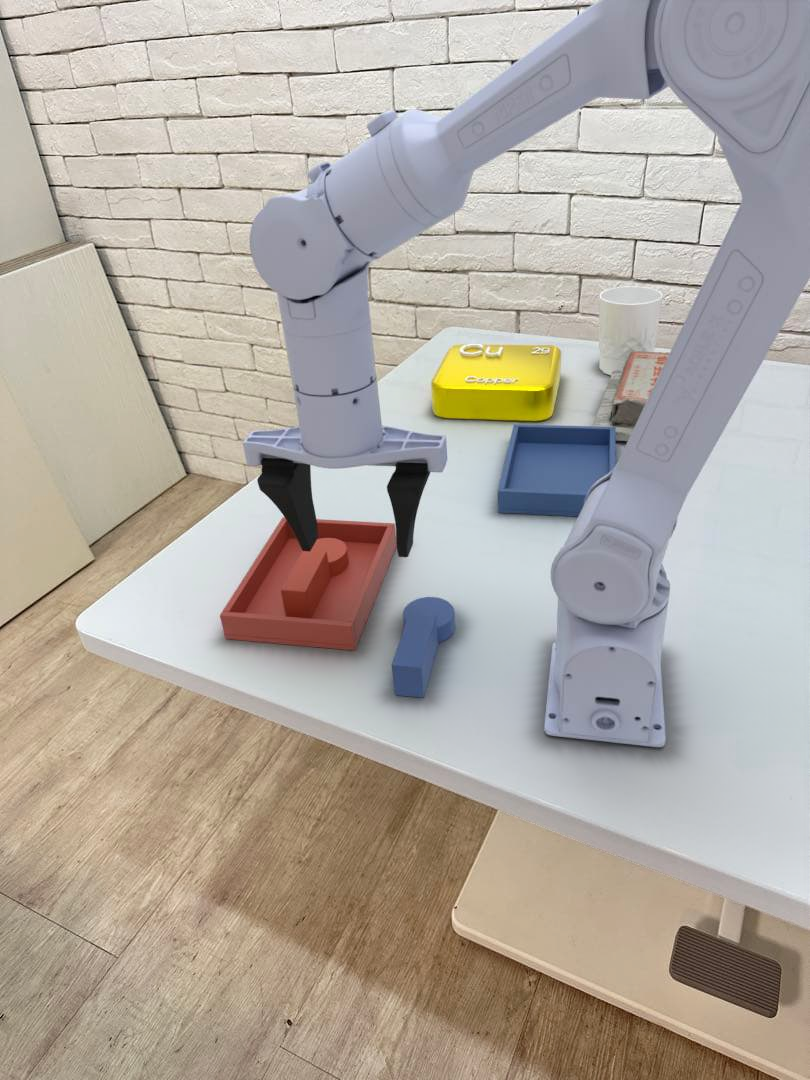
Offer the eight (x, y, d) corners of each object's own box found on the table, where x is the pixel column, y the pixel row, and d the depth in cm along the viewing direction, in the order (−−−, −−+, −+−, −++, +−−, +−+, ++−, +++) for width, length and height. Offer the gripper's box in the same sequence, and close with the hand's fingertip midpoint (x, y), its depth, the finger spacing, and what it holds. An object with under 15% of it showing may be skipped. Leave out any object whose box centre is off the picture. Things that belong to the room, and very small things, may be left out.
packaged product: (614, 345, 102) (696, 349, 99) (611, 381, 105) (691, 386, 101) (591, 401, 88) (686, 409, 85) (589, 441, 91) (681, 449, 88)
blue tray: (613, 518, 77) (615, 496, 76) (497, 512, 79) (497, 491, 78) (613, 447, 89) (615, 426, 88) (513, 443, 92) (513, 424, 90)
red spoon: (321, 621, 66) (317, 592, 65) (274, 617, 67) (268, 588, 66) (354, 553, 74) (350, 526, 73) (311, 550, 75) (307, 523, 74)
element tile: (429, 418, 99) (427, 382, 96) (452, 373, 111) (450, 339, 108) (551, 423, 95) (552, 385, 93) (561, 375, 108) (562, 340, 105)
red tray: (354, 650, 64) (351, 626, 62) (225, 639, 66) (219, 615, 65) (397, 545, 76) (395, 523, 75) (286, 538, 78) (282, 517, 77)
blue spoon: (437, 699, 58) (434, 669, 57) (381, 693, 59) (378, 663, 58) (459, 613, 67) (457, 584, 65) (410, 609, 68) (407, 581, 66)
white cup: (663, 362, 109) (670, 288, 103) (644, 383, 103) (651, 306, 98) (607, 355, 112) (611, 283, 107) (586, 374, 107) (590, 300, 102)
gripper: (450, 358, 55) (459, 523, 63) (256, 358, 59) (286, 515, 66) (431, 399, 50) (443, 576, 57) (217, 396, 53) (254, 563, 60)
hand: (357, 547), depth 61 cm, fingers open, 7 cm apart
